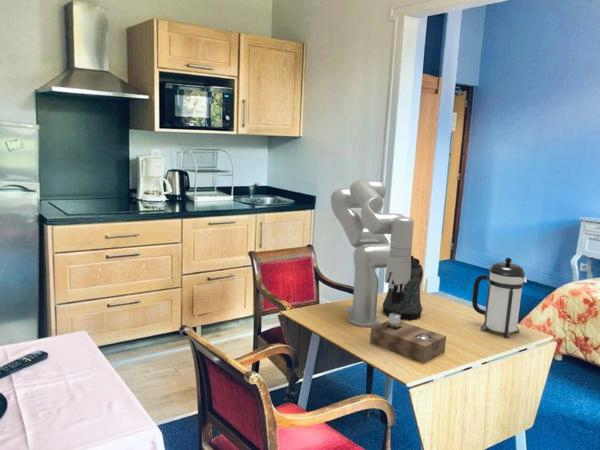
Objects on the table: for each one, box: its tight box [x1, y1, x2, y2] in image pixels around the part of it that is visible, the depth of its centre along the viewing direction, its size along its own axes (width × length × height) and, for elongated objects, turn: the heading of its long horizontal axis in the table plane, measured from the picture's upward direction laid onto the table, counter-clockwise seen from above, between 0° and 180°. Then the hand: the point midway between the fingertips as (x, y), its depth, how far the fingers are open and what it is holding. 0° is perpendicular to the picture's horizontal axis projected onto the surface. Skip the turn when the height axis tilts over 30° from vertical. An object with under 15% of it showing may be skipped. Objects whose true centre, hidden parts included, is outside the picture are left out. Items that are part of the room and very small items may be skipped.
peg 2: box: [417, 335, 429, 340], centre depth 177 cm, size 4×4×6 cm
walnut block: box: [369, 320, 447, 365], centre depth 181 cm, size 22×14×6 cm, turn 46°
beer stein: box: [382, 255, 424, 321], centre depth 217 cm, size 16×19×25 cm
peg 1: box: [388, 313, 401, 330], centre depth 185 cm, size 4×4×6 cm
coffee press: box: [471, 257, 527, 339], centre depth 201 cm, size 17×16×30 cm
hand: (396, 302), depth 183 cm, fingers closed
